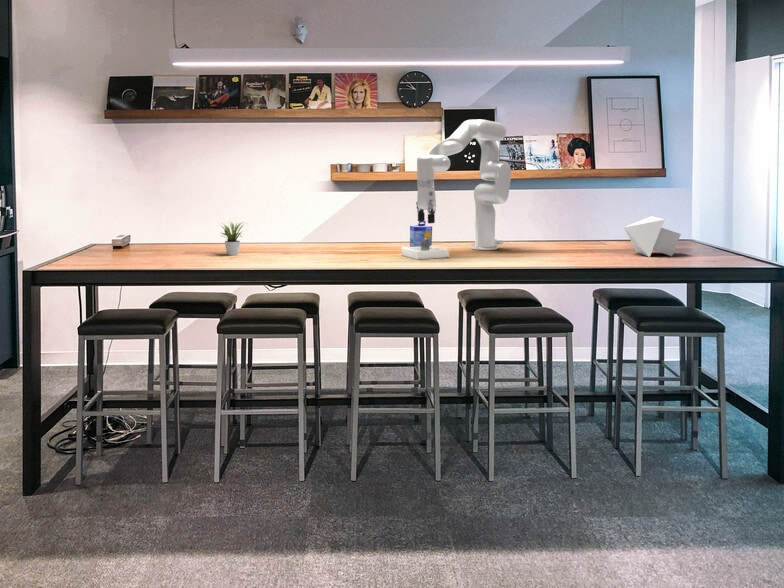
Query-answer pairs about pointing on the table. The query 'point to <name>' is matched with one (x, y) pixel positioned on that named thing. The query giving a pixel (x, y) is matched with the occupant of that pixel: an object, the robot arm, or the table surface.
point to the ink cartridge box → (420, 234)
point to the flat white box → (425, 253)
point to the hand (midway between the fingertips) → (426, 222)
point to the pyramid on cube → (652, 236)
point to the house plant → (232, 239)
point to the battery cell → (425, 244)
